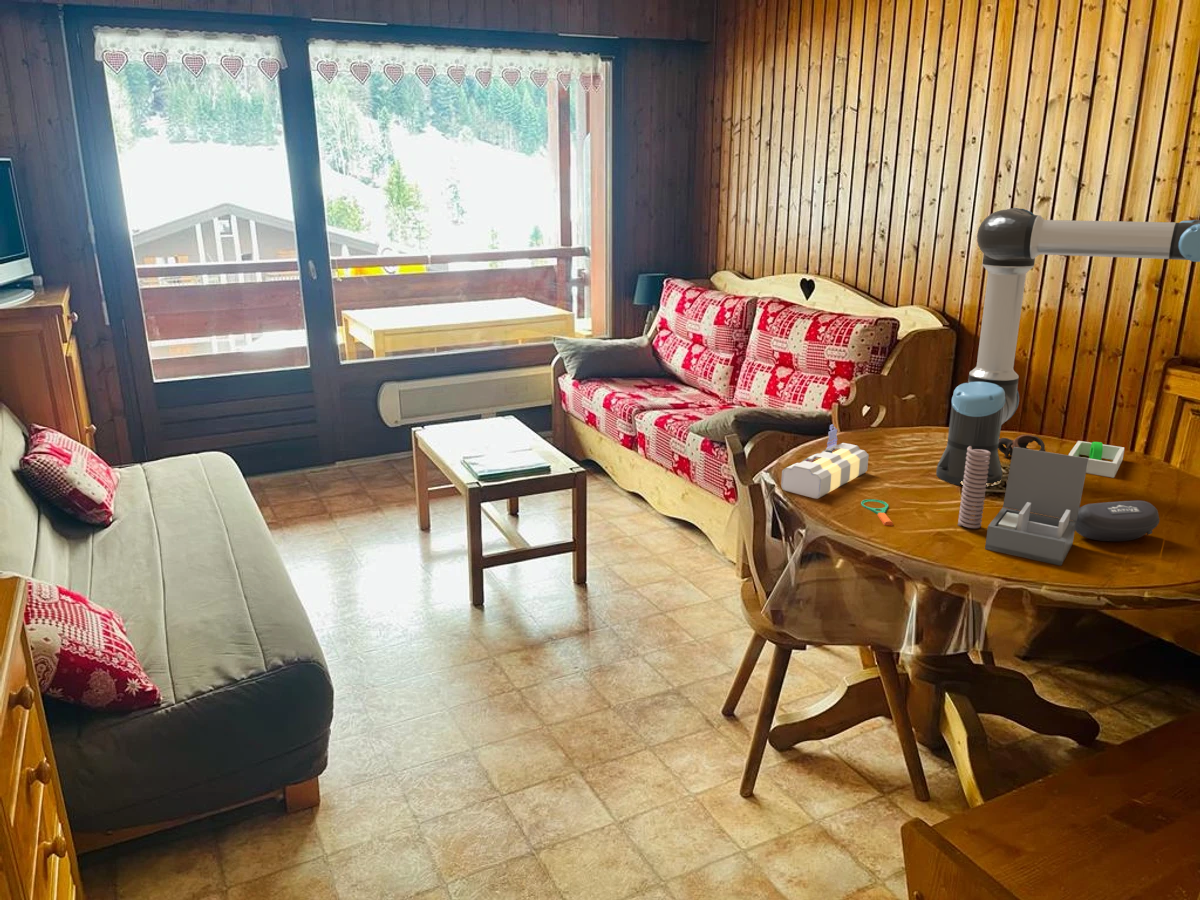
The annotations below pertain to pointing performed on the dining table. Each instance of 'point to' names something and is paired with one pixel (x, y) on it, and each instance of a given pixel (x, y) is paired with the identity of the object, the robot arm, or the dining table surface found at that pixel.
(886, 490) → the dining table surface
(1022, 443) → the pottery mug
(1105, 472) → the parts corral
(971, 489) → the coil
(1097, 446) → the mechanical part
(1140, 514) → the glasses case
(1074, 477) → the case
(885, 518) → the magnifying glass
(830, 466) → the white striped block
